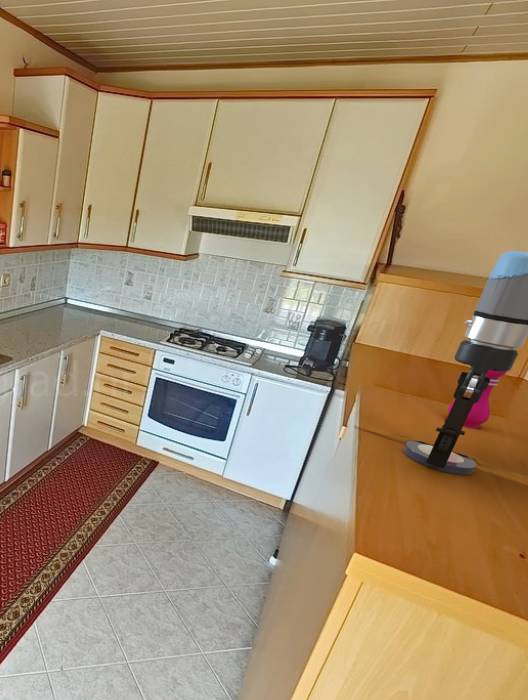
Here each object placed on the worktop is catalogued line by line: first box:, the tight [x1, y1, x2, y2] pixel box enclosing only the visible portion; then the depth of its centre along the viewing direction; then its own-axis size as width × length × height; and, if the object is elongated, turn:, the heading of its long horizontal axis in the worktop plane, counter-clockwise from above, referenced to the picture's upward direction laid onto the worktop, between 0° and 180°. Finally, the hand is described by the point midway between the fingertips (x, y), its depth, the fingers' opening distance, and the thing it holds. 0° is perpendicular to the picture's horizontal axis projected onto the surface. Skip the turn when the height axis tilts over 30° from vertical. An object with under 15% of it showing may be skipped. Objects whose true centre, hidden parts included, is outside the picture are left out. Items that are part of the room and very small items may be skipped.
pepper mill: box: [447, 370, 507, 429], centre depth 112 cm, size 7×7×20 cm
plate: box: [403, 440, 477, 476], centre depth 96 cm, size 11×11×2 cm
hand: (435, 464), depth 92 cm, fingers closed
